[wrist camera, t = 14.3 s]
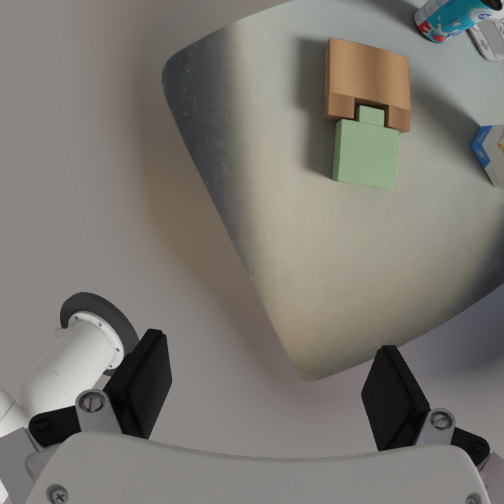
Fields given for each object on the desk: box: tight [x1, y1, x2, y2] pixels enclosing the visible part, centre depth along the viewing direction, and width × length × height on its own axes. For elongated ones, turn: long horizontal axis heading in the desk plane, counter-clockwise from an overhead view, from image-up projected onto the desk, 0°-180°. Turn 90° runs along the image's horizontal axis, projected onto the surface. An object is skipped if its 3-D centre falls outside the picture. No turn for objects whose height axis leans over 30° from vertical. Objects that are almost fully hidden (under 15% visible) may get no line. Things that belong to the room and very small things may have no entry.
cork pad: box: [324, 38, 410, 134], centre depth 25 cm, size 10×10×3 cm
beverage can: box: [414, 0, 502, 43], centre depth 15 cm, size 6×6×15 cm
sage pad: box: [332, 105, 399, 190], centre depth 28 cm, size 7×9×3 cm
